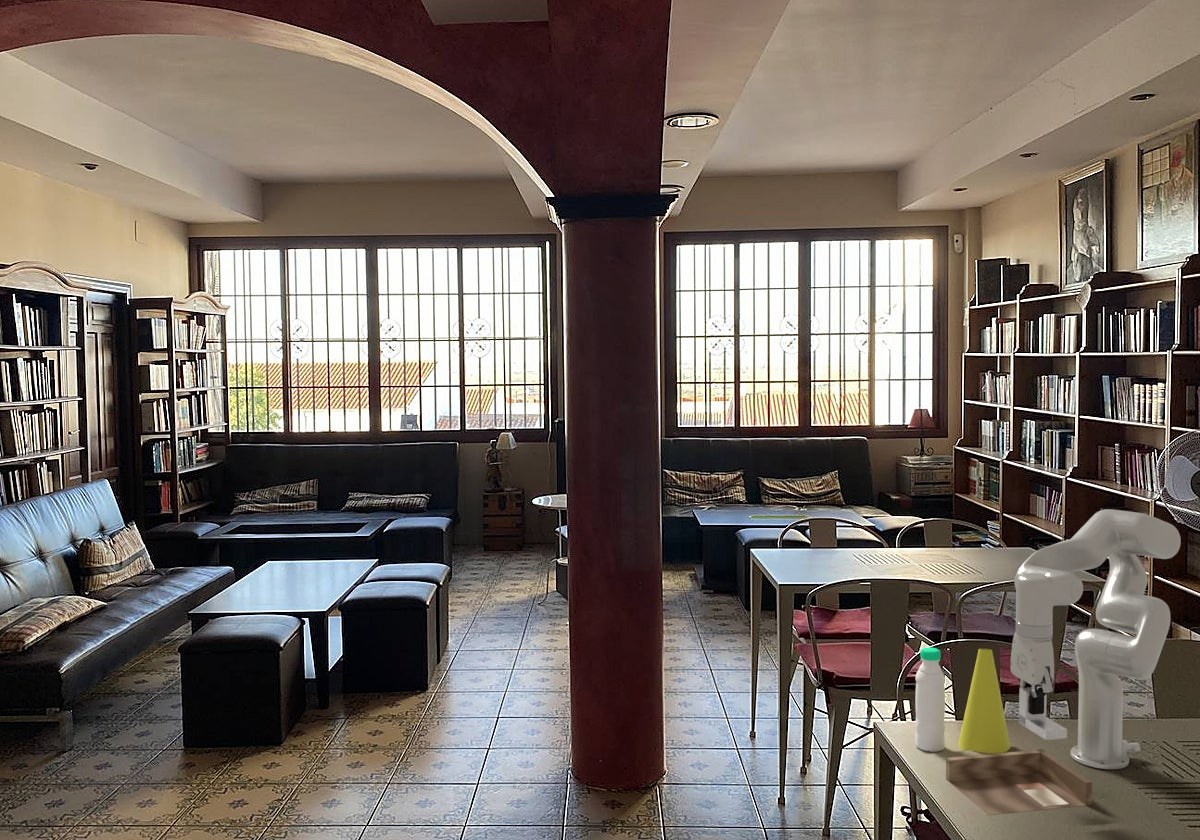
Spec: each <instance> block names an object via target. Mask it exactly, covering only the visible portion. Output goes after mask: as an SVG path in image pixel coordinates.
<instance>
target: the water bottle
mask: <svg viewBox="0 0 1200 840" xmlns="http://www.w3.org/2000/svg"><path fill="white" fill-rule="evenodd" d="M919 655H920V659H921V661H922V663H921V664H920V666H919V667H918V669H917V671H916V674H915V720H914V721H915V723H914V724H915V727H914V728H915V736H914V744H915V746H916V747H917V748H918V749H919V750H921V751H925V752H928V751H929V752H930V753H937V752H938V753H939V752H940V751H943V750H944V749H945V746H946V738H945V730H946V724H945V723H946V722H945V714H946V710H945V709H946V688H945V685H946V676H945V674H944V672H943V671H942V667H941V666H940V664H939V662H940V660H941V655H942V654H941V651H940V649H938V648H936V647H930V646H929V647H923V648H921V649H920V653H919ZM929 752H928V753H929Z"/></svg>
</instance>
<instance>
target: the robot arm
mask: <svg viewBox="0 0 1200 840" xmlns="http://www.w3.org/2000/svg"><path fill="white" fill-rule="evenodd" d="M1181 543H1182V541H1181V535H1180V533H1179V530H1178V529H1177V527H1175V525H1173V524H1171V523H1169V522H1168V521H1164V520H1162V519H1160V518H1157V517H1154V516H1153V515H1150V514H1147V513H1143V512H1135V511H1128V510H1121V509H1120V510H1119V509H1113V508H1112V509H1110V508H1107V509H1102V510H1099V511H1096V512H1095V513H1094V514H1093V515H1092V516H1091V517H1090V518H1089V519H1088V520H1087V521H1086V523H1084V524H1083V525H1082V526H1081V527H1080V529H1078V531H1077V532H1076V533H1075V534H1074V535H1073V536H1072V537H1071V538H1070V539H1067V540H1062V541H1059V542H1057V543H1053V544H1051V545H1048V546H1046V547H1042V548H1039V549H1038V550H1036V551H1035V552H1033V553H1032V554H1031V555H1030V556H1029V557H1027V559H1025V561H1024V562H1022V564H1021V565H1020V566H1019V568H1018V569H1017V572H1016V574H1015V576H1014V581H1013V582H1014V584H1013V585H1014V588H1015V590H1016V591H1015V632H1014V634H1013V637H1012V644H1011V654H1010V672H1011V674H1012V675H1014V676H1015V677H1016V678H1017V679H1018V682H1019V688H1027V687H1032V696H1030V714H1032V715H1035V714H1043V713H1044V697H1046V694H1047V695H1048V693H1051V692H1053V691H1054V690H1053V685H1052V684H1053V683H1054V681H1055V656H1054V655H1055V654H1054V646H1053V628H1054V627H1053V625H1054V624H1053V622H1054V621H1053V617H1054V606H1070V605H1074V604H1075V603H1076V602H1078V601H1079V600H1080V599H1081V597H1082V595H1083V592H1084V584H1083V582H1082V580H1081V578H1080V577H1079V576H1077V574H1074V573H1073V572H1079V571H1080V572H1081V571H1087V570H1092V569H1096V568H1098V567H1100V566H1101V565H1102V564H1103V563H1104V562H1105V561H1106V560H1107V559H1108V561H1109V572H1108V575H1107V578H1106V581H1105V584H1104V586H1103V588H1102V592H1101V594H1100V597H1099V599H1098V603H1097V606H1096V608H1095V619H1096V620H1097V622H1098V623H1099V624H1100V625H1102V626H1103V627H1106V628H1108V629H1112V630H1115V631H1120V632H1122V633H1119V632H1115V631H1110V630H1107V629H1101V628H1087V629H1084V630H1082V631H1080V632H1079V633H1078V635H1077V636H1076V638H1075V641H1074V651H1075V652H1074V653H1075V659H1076V664H1077V670H1078V715H1077V716H1078V717H1077V718H1078V719H1077V720H1078V721H1077V723H1078V724H1077V745H1075V746H1072V748H1071V749H1070V756H1071V757H1072V759H1073V760H1075V761H1076V762H1078V763H1080V764H1082V765H1085V766H1088V767H1091V768H1095V769H1102V770H1120V769H1124V768H1126V767H1128V766H1129V764H1130V758H1129V756H1128V755H1127V754H1129V752H1139V751H1141V745H1140V743H1139V742H1128V740H1127V739H1124V740H1123V719H1124V717H1123V715H1124V713H1123V711H1124V708H1123V707H1124V689H1123V686H1122V683H1121V680H1120V679H1119V677H1118V676H1121V677H1125V678H1128V679H1134V680H1138V681H1139V680H1141V681H1143V680H1147V679H1148V678H1150V677H1151V676H1152V674H1153V673H1154V671H1155V669H1156V667H1157V664H1158V662H1159V658H1160V655H1161V652H1162V649H1163V648H1164V647H1163V646H1164V644H1165V641H1166V639H1167V635H1168V633H1169V630H1170V626H1171V610H1170V607H1169V605H1168V604H1167V603H1166V601H1164V600H1163V599H1161V598H1158V597H1155V596H1151V595H1146V594H1145V592H1146V588H1147V585H1148V581H1149V578H1148V574H1147V572H1146V569H1145V567H1144V566H1143V564H1142V562H1141V561H1140V559H1139V558H1138V556H1143V557H1148V558H1153V559H1161V560H1167V559H1172V558H1173V557H1174V556H1175V555H1177V554H1178V553H1179V550H1180V548H1181ZM1123 632H1124V633H1127V634H1133V635H1136V636H1132V635H1127V634H1123ZM1037 687H1040V688H1038V689H1037ZM1046 698H1047V697H1046Z"/></svg>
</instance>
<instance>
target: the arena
mask: <svg viewBox="0 0 1200 840" xmlns="http://www.w3.org/2000/svg"><path fill="white" fill-rule="evenodd" d="M945 780H946V781H947V782H949V783H950V784H951V785H953V787H954V788H955V789H957V790H958V791H959V792H960V793H962V794H963V795H964V796H965V797H967V799H969V800H970V801H971V802H973V803H974V804H975V805H976V806H977V807H978V808H980V810H982V811H983V812H984V813H986V814H987V815H988V816H991V815H992V816H994V815H1003V814H1004V815H1005V814H1015V813H1021V812H1023V813H1024V812H1033V811H1044V810H1045V811H1046V810H1054V809H1056V810H1057V809H1065V808H1066V809H1067V808H1073V807H1083V806H1085V807H1086V806H1092V803H1093V802H1092V800H1093V797H1092V795H1093V781H1092V780H1089V779H1088V778H1087V777H1085V776H1084V775H1082V774H1080V773H1078V771H1076V770H1075V769H1073V768H1071V767H1069V766H1068V765H1066V764H1065V763H1064V762H1062V761H1060V760H1059V759H1057V758H1056V757H1054V756H1053V755H1051V754H1049V752H1047V751H1045V750H1044V749H1033V750H1031V749H1030V750H1021V751H1020V750H1019V751H1011V752H1010V751H1009V752H1008V751H1006V752H1003V753H995V754H991V753H984V754H975V755H964V756H962V755H961V756H952V757H945Z"/></svg>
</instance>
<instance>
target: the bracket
mask: <svg viewBox="0 0 1200 840" xmlns="http://www.w3.org/2000/svg"><path fill="white" fill-rule="evenodd" d="M1040 687H1041V686H1037V689H1038V688H1040ZM1018 689H1019V693H1018V695H1019V696H1018V724H1020V725H1021V726H1023V727H1024V728H1026V729H1028V730H1030V731H1031V732H1032V733H1034V734H1036V735H1037V736H1039V737H1040V738H1042V739H1043V740H1045V741H1049V740H1063V739H1068V728H1066V727H1065V726H1063V725H1061V724H1059V723H1057V722H1055V720H1052V719H1051V718H1049V717H1047V697H1048V696H1047V695H1048V693H1047V694H1046V697H1044V713H1043V714H1035V715H1032V714H1030V696H1032V687H1027V688H1020V687H1019V688H1018Z"/></svg>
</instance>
